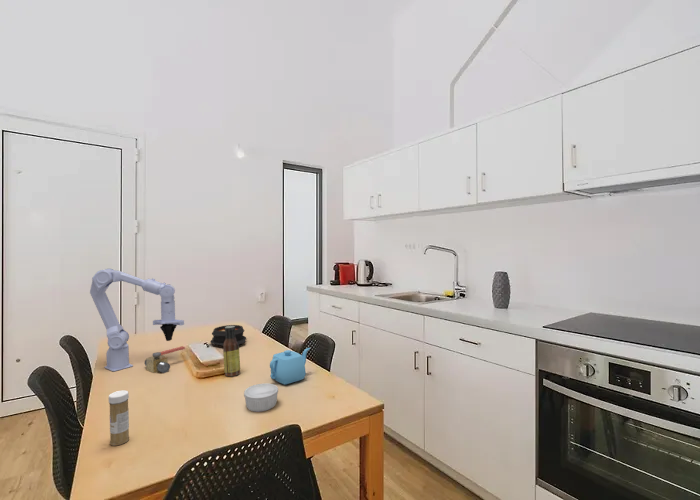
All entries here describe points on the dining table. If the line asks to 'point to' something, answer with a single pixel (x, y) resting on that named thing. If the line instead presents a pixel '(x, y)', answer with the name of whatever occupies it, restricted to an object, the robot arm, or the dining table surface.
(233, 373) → the sauce bottle
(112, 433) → the sprinkles bottle
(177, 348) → the lever
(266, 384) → the ramekin
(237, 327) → the casserole
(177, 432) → the dining table surface
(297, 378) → the teapot
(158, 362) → the valve fixture
